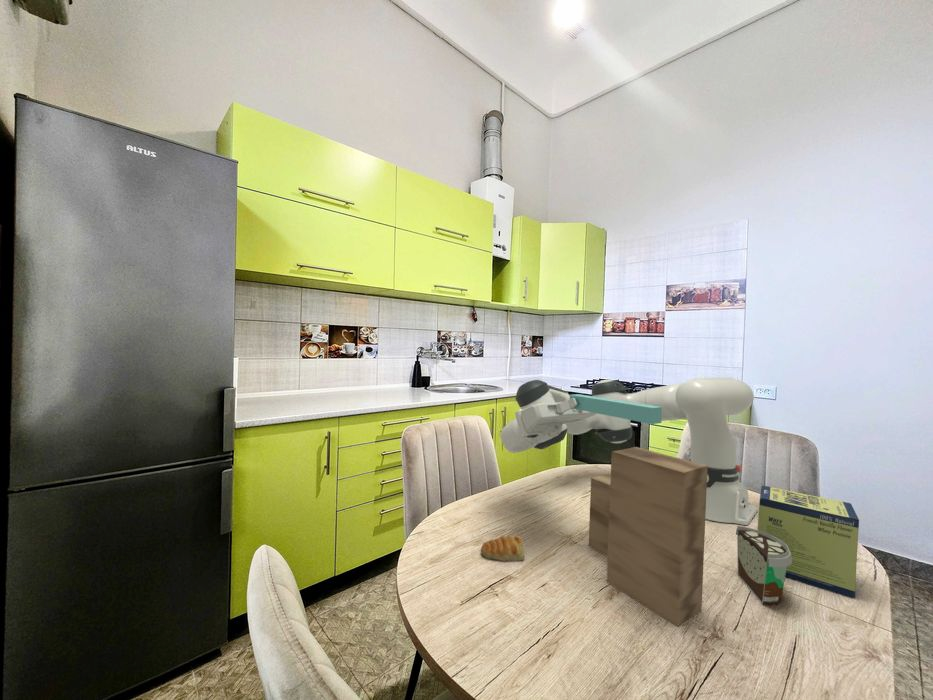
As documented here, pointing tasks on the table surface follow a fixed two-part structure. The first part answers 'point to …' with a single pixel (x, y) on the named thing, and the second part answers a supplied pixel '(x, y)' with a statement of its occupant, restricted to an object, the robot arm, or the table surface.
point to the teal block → (619, 409)
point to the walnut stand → (652, 529)
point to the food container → (762, 564)
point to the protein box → (813, 537)
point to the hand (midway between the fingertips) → (583, 400)
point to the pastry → (504, 549)
